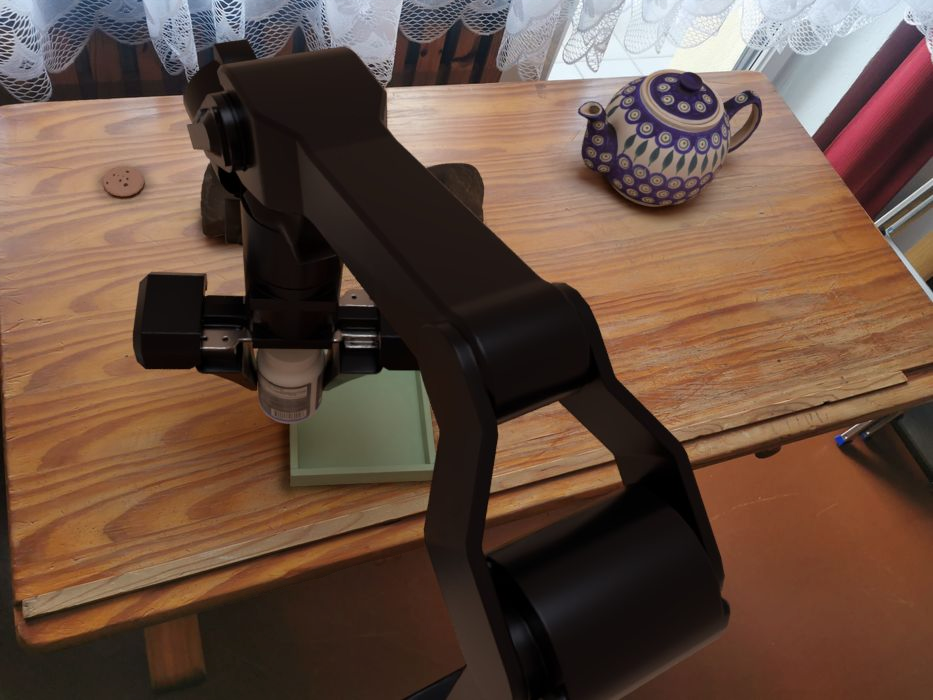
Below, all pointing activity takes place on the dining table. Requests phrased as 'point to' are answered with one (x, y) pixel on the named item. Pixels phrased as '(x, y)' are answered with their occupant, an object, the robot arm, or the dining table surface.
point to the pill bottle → (290, 383)
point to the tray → (366, 433)
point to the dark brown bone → (452, 175)
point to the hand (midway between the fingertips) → (290, 385)
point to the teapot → (664, 136)
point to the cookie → (123, 181)
